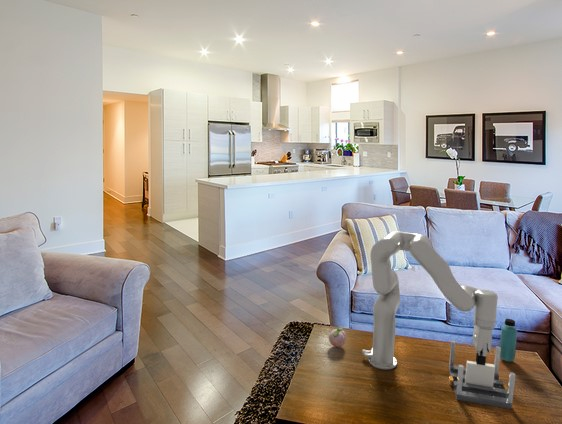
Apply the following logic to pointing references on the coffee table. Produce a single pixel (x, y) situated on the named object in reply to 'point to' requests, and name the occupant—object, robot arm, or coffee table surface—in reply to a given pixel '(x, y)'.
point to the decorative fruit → (337, 337)
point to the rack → (477, 393)
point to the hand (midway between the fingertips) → (480, 363)
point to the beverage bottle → (508, 340)
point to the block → (480, 374)
